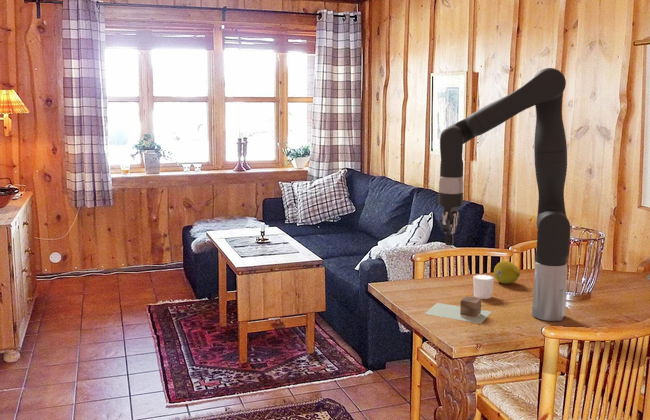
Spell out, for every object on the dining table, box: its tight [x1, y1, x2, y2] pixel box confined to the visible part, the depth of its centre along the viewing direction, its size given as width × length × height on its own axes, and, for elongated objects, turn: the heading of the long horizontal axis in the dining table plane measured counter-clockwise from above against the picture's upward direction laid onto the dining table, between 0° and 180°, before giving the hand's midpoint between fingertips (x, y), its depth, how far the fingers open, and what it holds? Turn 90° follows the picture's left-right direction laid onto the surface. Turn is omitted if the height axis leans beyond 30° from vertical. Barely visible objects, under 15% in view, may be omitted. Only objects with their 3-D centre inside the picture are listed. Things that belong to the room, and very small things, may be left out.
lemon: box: [493, 260, 521, 285], centre depth 242 cm, size 11×8×8 cm
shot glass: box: [472, 273, 495, 300], centre depth 227 cm, size 7×7×7 cm
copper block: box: [460, 295, 482, 319], centre depth 209 cm, size 5×5×5 cm
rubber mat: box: [423, 302, 492, 324], centre depth 211 cm, size 18×12×1 cm, turn 61°
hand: (449, 244), depth 213 cm, fingers closed
